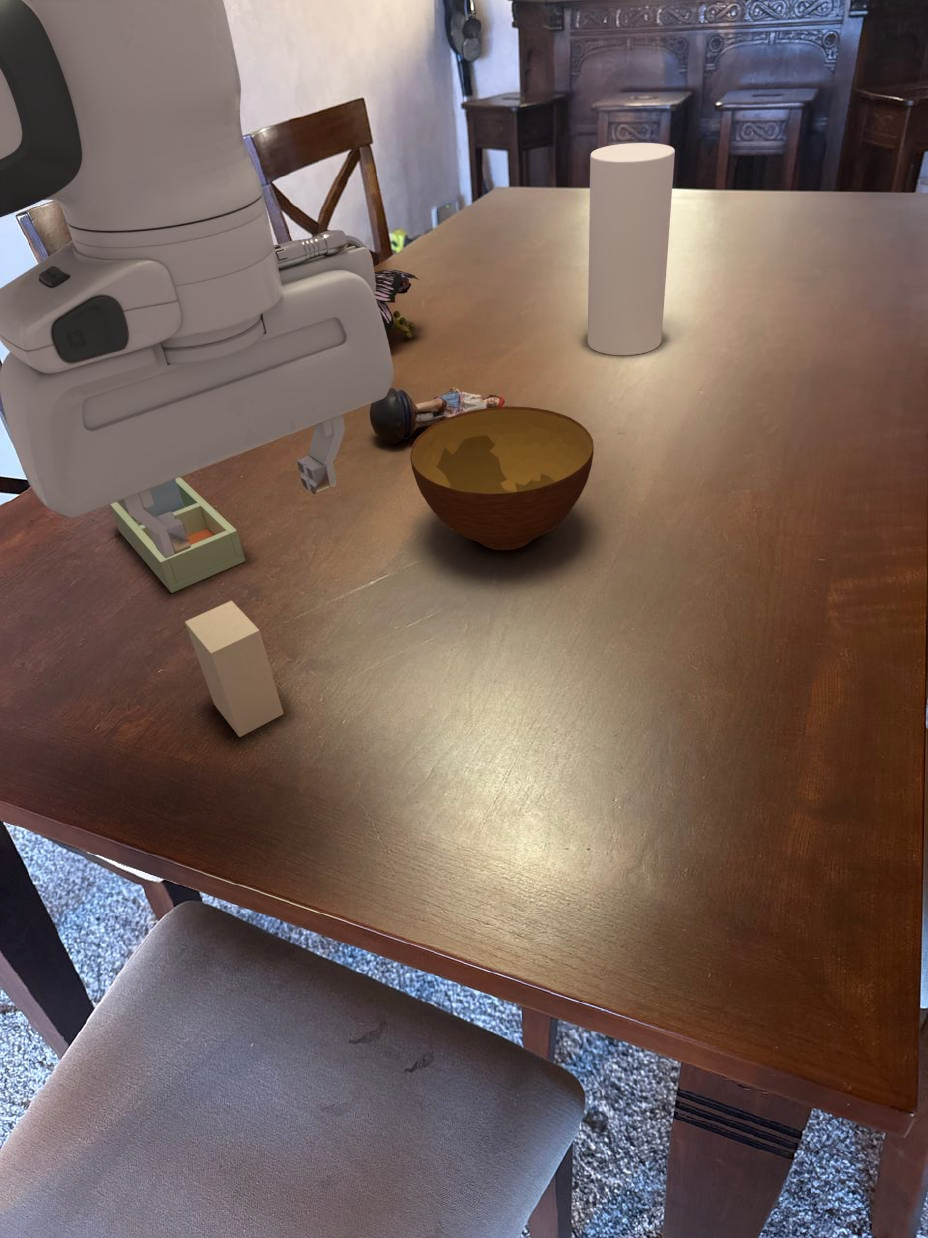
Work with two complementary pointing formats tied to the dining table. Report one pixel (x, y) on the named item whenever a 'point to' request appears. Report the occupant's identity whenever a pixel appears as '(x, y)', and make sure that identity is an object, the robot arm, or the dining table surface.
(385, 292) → the decorative flower
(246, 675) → the beige rectangular block
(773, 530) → the dining table surface
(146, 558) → the holder
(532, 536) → the bowl
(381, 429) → the figurine
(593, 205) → the tall pillar cylinder
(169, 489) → the pale blue upright prism
